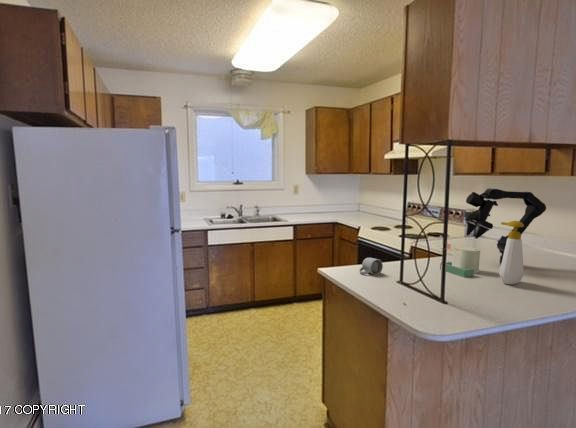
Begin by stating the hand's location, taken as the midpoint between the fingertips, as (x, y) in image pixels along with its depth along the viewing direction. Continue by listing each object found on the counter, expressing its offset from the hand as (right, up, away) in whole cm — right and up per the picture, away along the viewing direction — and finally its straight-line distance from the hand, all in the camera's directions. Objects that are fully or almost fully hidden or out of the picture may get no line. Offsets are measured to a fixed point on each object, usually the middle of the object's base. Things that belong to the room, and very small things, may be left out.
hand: (471, 236), depth 192 cm
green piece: (-14, -17, -13) cm, 26 cm away
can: (-6, -17, -9) cm, 21 cm away
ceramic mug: (-59, -17, -15) cm, 63 cm away
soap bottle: (+2, -20, -28) cm, 34 cm away
